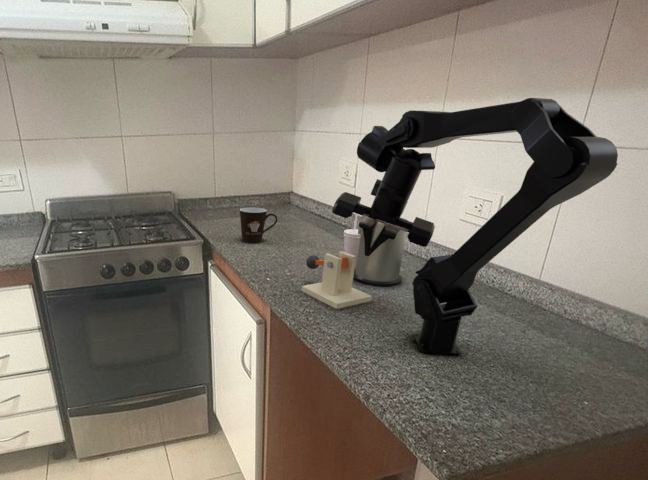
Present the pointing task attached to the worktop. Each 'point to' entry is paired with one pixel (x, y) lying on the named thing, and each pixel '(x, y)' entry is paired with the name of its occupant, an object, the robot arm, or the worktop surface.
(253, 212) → the coffee mug
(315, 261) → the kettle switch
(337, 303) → the knobbed lever stand
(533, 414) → the worktop surface
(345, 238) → the smoothie
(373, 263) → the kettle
